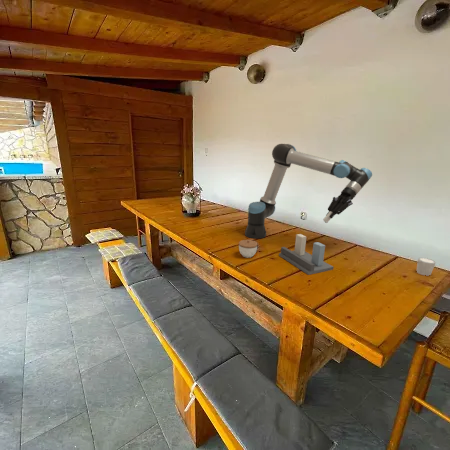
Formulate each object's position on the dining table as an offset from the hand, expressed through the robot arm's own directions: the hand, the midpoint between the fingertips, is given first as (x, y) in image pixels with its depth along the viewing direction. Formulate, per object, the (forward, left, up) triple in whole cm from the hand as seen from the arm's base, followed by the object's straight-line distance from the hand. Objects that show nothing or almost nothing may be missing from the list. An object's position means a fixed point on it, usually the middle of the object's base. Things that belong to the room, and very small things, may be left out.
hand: (325, 221), depth 140 cm
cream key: (0, -16, -18) cm, 24 cm away
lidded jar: (-12, -43, -20) cm, 49 cm away
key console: (+7, -18, -20) cm, 27 cm away
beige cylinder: (+39, +30, -20) cm, 53 cm away
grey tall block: (+14, -16, -18) cm, 28 cm away
